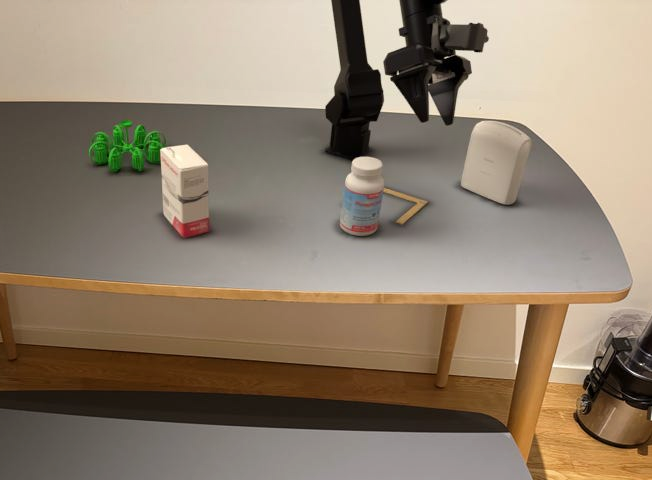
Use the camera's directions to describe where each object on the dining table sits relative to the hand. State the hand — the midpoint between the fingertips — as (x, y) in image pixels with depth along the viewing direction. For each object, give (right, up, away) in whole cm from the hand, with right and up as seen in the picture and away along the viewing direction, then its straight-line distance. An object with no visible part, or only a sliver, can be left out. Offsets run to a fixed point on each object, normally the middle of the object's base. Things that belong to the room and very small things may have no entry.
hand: (437, 123), depth 111 cm
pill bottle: (-10, -14, +8) cm, 20 cm away
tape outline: (-5, -10, +14) cm, 18 cm away
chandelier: (-50, +2, +28) cm, 57 cm away
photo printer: (+14, -7, +17) cm, 23 cm away
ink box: (-38, -13, +9) cm, 42 cm away
